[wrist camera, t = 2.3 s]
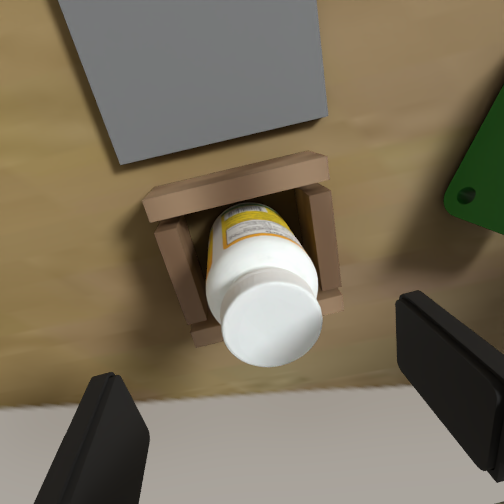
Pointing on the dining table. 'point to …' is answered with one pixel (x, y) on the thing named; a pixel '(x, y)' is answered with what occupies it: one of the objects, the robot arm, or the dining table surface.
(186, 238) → the frame
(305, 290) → the supplement bottle
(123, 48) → the rubber mat
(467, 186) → the clamp
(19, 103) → the dining table surface
